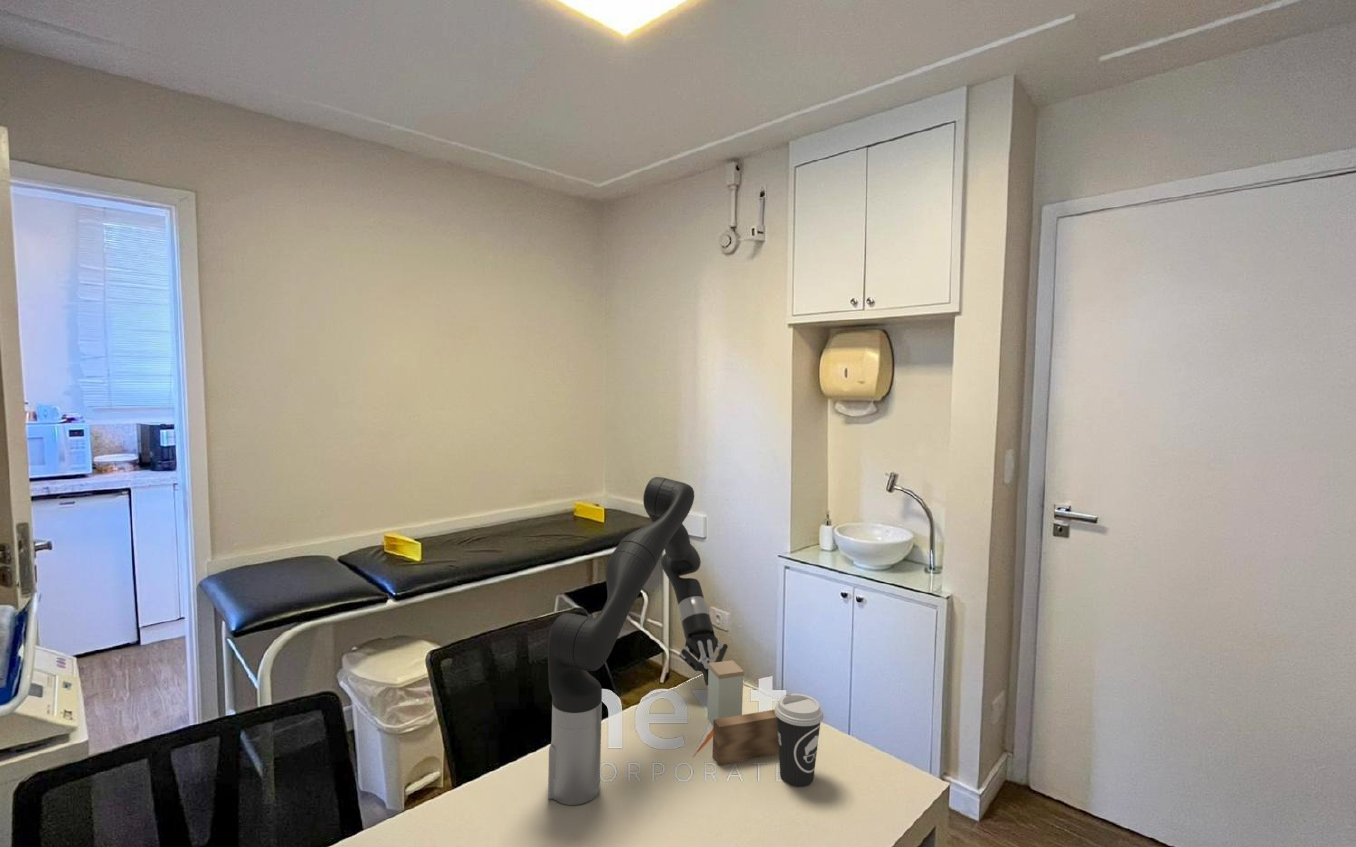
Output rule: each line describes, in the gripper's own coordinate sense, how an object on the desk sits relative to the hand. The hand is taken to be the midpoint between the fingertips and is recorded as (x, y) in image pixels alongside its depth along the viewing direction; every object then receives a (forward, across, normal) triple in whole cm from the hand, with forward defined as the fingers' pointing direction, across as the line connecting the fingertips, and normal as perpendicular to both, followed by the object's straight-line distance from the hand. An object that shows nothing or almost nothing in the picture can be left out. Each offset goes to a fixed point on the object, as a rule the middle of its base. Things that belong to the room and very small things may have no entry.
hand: (712, 686), depth 151 cm
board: (+18, 0, -11) cm, 21 cm away
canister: (+9, 0, -1) cm, 9 cm away
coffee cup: (+25, +5, -18) cm, 31 cm away
